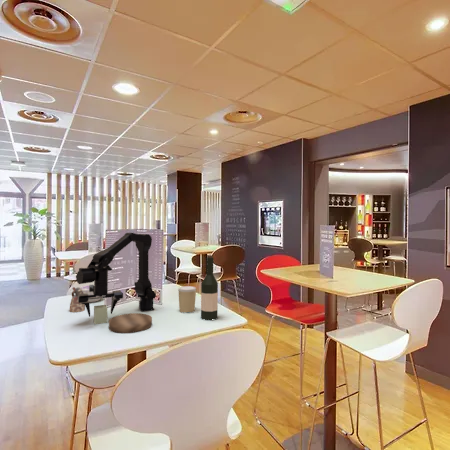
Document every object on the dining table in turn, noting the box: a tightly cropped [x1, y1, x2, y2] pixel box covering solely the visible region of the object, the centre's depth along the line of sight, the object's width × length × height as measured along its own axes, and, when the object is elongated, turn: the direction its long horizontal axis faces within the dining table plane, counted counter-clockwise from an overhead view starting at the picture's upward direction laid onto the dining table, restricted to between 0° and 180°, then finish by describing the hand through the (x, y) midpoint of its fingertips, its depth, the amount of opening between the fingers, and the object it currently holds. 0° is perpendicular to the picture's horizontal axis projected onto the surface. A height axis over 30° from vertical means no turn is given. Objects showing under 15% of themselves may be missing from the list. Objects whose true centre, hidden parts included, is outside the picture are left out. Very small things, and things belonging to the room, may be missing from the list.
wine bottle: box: [200, 255, 219, 321], centre depth 147 cm, size 8×8×30 cm
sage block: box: [93, 304, 108, 325], centre depth 138 cm, size 5×5×7 cm
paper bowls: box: [79, 285, 102, 303], centre depth 177 cm, size 15×15×8 cm
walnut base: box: [108, 312, 153, 334], centre depth 133 cm, size 18×18×3 cm
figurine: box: [69, 286, 86, 313], centre depth 156 cm, size 7×7×12 cm
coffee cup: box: [177, 285, 197, 313], centre depth 158 cm, size 9×9×12 cm
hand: (100, 315), depth 138 cm, fingers open, 9 cm apart
